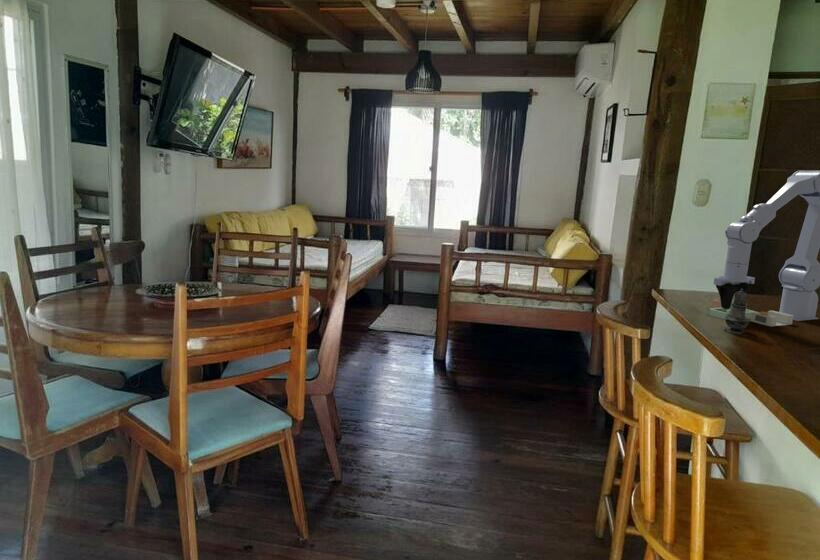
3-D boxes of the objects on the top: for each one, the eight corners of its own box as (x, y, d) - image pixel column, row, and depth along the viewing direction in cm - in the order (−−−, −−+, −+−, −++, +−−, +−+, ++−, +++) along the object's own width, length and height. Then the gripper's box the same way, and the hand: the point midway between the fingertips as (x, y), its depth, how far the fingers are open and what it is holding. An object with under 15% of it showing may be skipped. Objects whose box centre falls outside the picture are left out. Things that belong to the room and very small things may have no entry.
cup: (725, 308, 170) (727, 299, 170) (745, 313, 164) (747, 303, 163) (710, 309, 168) (712, 300, 167) (730, 314, 161) (731, 304, 161)
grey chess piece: (752, 335, 138) (759, 291, 136) (727, 333, 139) (734, 289, 137) (742, 329, 144) (749, 286, 141) (719, 328, 145) (725, 285, 142)
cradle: (771, 320, 156) (773, 308, 155) (791, 325, 150) (793, 313, 150) (749, 322, 152) (751, 310, 152) (769, 327, 147) (771, 315, 146)
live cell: (739, 315, 156) (743, 294, 154) (730, 316, 154) (734, 295, 153) (728, 312, 159) (731, 292, 158) (719, 313, 158) (723, 292, 156)
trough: (734, 313, 163) (735, 306, 162) (756, 319, 156) (757, 311, 156) (706, 315, 158) (707, 308, 158) (727, 321, 152) (728, 314, 152)
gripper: (741, 260, 160) (735, 303, 163) (707, 261, 155) (700, 306, 157) (764, 264, 154) (757, 309, 156) (729, 265, 148) (722, 311, 151)
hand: (730, 308), depth 156 cm, fingers closed on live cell, 4 cm apart
